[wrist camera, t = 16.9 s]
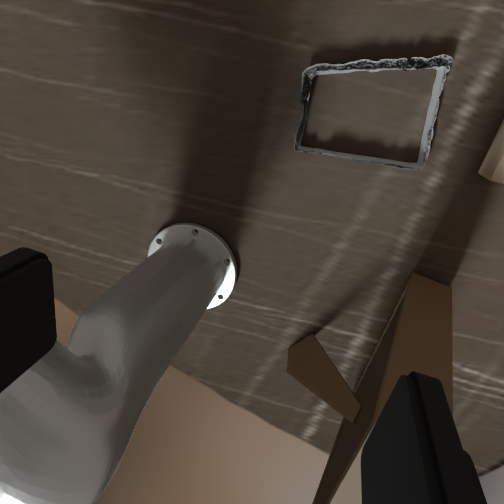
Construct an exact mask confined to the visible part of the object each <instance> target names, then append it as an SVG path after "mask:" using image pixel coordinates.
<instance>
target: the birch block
mask: <svg viewBox="0 0 504 504" xmlns="http://www.w3.org/2000/svg"><path fill="white" fill-rule="evenodd" d="M478 174H480V175H482V176H483V177H485V178H486V179H488V180H490V181H493V182H498V183H502V184H504V119H503V121H502V123H501V125H500V127H499V130H498V132H497V134H496V136H495V138H494V140H493V142H492V144H491V146H490V148H489V150H488V153H487V155H486V157H485V159H484V161H483V163H482V165H481V167H480V169H479V171H478Z"/></svg>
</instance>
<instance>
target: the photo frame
mask: <svg viewBox="0 0 504 504" xmlns="http://www.w3.org/2000/svg"><path fill="white" fill-rule="evenodd" d="M412 371H415V372H418V373H421V374H425V375H428V376H431V377H434V378H437V379H439V380H440V381H441V383H442V386H443V389H444V392H445V395H446V398H447V401H448V405H449V408H450V411H451V414H452V417H453V381H452V288H451V287H449V286H446V285H444V284H441V283H439V282H436V281H434V280H431V279H429V278H426V277H424V276H421V275H419V274H416V273H414V272H412V274H411V276H410V278H409V280H408V282H407V285H406V287H405V289H404V291H403V293H402V295H401V297H400V299H399V301H398V303H397V305H396V307H395V309H394V311H393V313H392V315H391V317H390V319H389V321H388V323H387V325H386V327H385V329H384V331H383V333H382V335H381V337H380V339H379V341H378V343H377V345H376V347H375V349H374V351H373V353H372V355H371V357H370V360H369V362H368V364H367V366H366V368H365V370H364V372H363V374H362V376H361V378H360V380H359V382H358V384H357V386H356V388H355V390H354V392H352V391H351V389H350V388H349V386H348V385H347V383H346V382H345V380H344V379H343V377H342V376H341V374H340V373H339V371H338V370H337V368H336V367H335V365H334V364H333V362H332V361H331V359H330V358H329V357H328V355H327V354H326V352H325V351H324V349H323V348H322V346H321V345H320V343H319V342H318V340H317V339H316V337H315V336H314V335H313V334H311V335H309V336H308V337H306V338H304V339H303V340H301V341H300V342H298V343H296V344H295V345H293V346H292V347H290V348H288V364H287V373H288V374H289V375H291V376H292V377H293V378H295V379H296V380H297V381H298V382H300V383H301V384H302V385H304V386H305V387H306V388H308V389H309V390H310V391H311V392H313V393H314V394H315V395H317V396H318V397H319V398H320V399H322V400H323V401H324V402H326V403H327V404H328V405H330V406H331V407H332V408H333V409H335V410H336V411H337V412H339V413H340V414H341V415H342V416H344V417H343V420H342V423H341V425H340V428H339V431H338V434H337V436H336V439H335V442H334V445H333V448H332V450H331V453H330V456H329V459H328V462H327V465H326V467H325V470H324V473H323V475H322V478H321V481H320V484H319V487H318V489H317V492H316V495H315V498H314V501H313V503H312V504H362V491H361V453H362V449H363V446H364V444H365V442H366V440H367V439H368V437H369V435H370V433H371V431H372V429H373V427H374V425H375V423H376V421H377V419H378V418H379V416H380V414H381V412H382V410H383V408H384V406H385V404H386V402H387V400H388V398H389V396H390V395H391V393H392V391H393V389H394V387H395V385H396V383H397V381H398V379H399V378H400V376H401V375H407V376H408V375H409V374H410V373H411V372H412Z"/></svg>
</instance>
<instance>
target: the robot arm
mask: <svg viewBox="0 0 504 504" xmlns="http://www.w3.org/2000/svg"><path fill="white" fill-rule="evenodd" d="M196 230H197V231H196ZM228 259H229V260H228ZM236 280H237V265H236V260H235V257H234V255H233V253H232V251H231V249H230V248H229V246H228V244H227V243H226V242H225V241H224V240H223V239H222V238H221V237H220V236H219V235H218V234H216V233H215V232H214V231H212V230H210V229H208V228H207V227H204V226H201V225H198V224H194V223H177V224H174V225H171V226H169V227H167V228H165V229H164V230H162V231H161V232H160V233H158V234H157V235H156V236H155V238H154V239H153V241H152V243H151V244H150V247H149V251H148V258H147V259H145V260H144V261H143V262H142V263H140V264H139V265H138V266H137V267H135V268H134V269H133V270H132V271H131V272H129V273H128V274H127V275H126V276H124V277H123V278H122V279H121V280H120V281H118V282H117V283H116V284H115V285H113V286H112V287H111V288H110V289H108V290H107V291H106V292H105V293H104V294H102V295H101V296H100V297H99V298H97V299H96V300H95V301H94V302H93V303H91V304H90V305H89V306H88V307H87V308H86V309H85V310H84V311H83V312H82V313H81V315H80V316H79V318H78V319H77V321H76V323H75V325H74V327H73V329H72V331H71V334H70V338H69V341H68V345H67V348H66V347H65V346H62V345H61V344H60V343H59V342H58V341H57V340H56V338H57V334H56V319H55V304H54V289H53V275H52V264H51V262H50V261H49V260H48V257H47V256H46V254H44V253H41V252H38V251H35V250H32V249H29V248H24V247H22V248H18V249H16V250H14V251H12V252H10V253H8V254H5V255H3V256H1V257H0V504H94V503H95V502H96V500H97V499H98V498H99V497H100V495H101V494H102V493H103V491H104V490H105V488H106V487H107V485H108V483H109V482H110V480H111V479H112V477H113V475H114V474H115V471H116V469H117V467H118V465H119V463H120V461H121V459H122V457H123V455H124V453H125V450H126V448H127V445H128V443H129V441H130V438H131V436H132V433H133V431H134V429H135V426H136V424H137V422H138V419H139V417H140V415H141V413H142V411H143V409H144V407H145V405H146V403H147V401H148V400H149V398H150V396H151V394H152V392H153V391H154V389H155V387H156V386H157V384H158V383H159V381H160V379H161V378H162V376H163V375H164V373H165V372H166V370H167V368H168V367H169V366H170V364H171V363H172V361H173V359H174V358H175V356H176V355H177V353H178V352H179V350H180V349H181V347H182V346H183V344H184V342H185V341H186V339H187V338H188V336H189V335H190V333H191V332H192V330H193V329H194V327H195V326H196V324H197V323H198V321H199V320H200V318H201V317H202V315H203V314H204V312H205V311H206V309H210V308H213V307H216V306H218V305H220V304H221V303H223V302H224V301H225V300H226V299H227V298H228V297H229V296H230V294H231V292H232V291H233V289H234V287H235V284H236ZM361 491H362V504H487V502H486V499H485V496H484V493H483V490H482V487H481V484H480V481H479V478H478V475H477V472H476V469H475V466H474V463H473V461H472V459H471V457H470V455H469V454H468V453H467V452H466V451H464V450H463V448H462V445H461V442H460V439H459V436H458V433H457V429H456V426H455V423H454V420H453V417H452V414H451V411H450V408H449V405H448V401H447V398H446V395H445V392H444V389H443V386H442V383H441V381H440V380H439V379H437V378H434V377H431V376H428V375H425V374H421V373H418V372H415V371H412V372H411V373H410V374H409V375H408V376H407V375H401V376H400V378H399V379H398V381H397V383H396V385H395V387H394V389H393V391H392V393H391V395H390V396H389V398H388V400H387V402H386V404H385V406H384V408H383V410H382V412H381V414H380V416H379V418H378V419H377V421H376V423H375V425H374V427H373V429H372V431H371V433H370V435H369V437H368V439H367V440H366V442H365V444H364V446H363V449H362V453H361Z"/></svg>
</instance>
